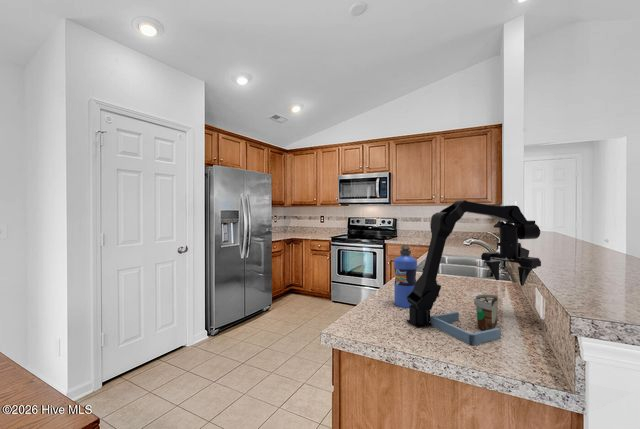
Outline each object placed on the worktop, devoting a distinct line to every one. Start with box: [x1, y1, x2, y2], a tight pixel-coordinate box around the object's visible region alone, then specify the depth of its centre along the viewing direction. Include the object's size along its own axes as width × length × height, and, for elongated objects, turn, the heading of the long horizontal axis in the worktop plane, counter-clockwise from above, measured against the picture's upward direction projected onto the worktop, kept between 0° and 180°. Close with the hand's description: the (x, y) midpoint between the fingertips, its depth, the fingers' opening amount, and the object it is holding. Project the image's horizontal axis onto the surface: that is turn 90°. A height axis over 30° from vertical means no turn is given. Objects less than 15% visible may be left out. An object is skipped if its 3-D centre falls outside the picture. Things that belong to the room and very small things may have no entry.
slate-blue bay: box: [430, 311, 502, 347], centre depth 97 cm, size 12×17×3 cm
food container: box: [473, 294, 499, 331], centre depth 101 cm, size 12×6×10 cm, turn 141°
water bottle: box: [393, 244, 418, 309], centre depth 125 cm, size 9×9×25 cm
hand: (509, 282), depth 108 cm, fingers open, 9 cm apart
